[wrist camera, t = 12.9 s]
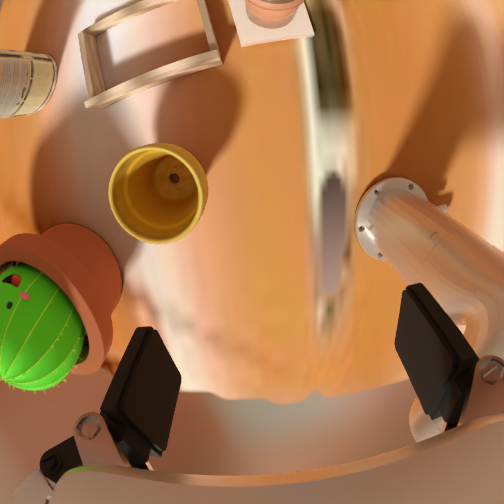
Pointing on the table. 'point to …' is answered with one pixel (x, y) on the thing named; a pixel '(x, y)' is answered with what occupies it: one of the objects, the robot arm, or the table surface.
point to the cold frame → (147, 80)
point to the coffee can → (25, 82)
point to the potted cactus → (55, 305)
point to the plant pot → (158, 193)
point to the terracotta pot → (272, 12)
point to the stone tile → (258, 35)
